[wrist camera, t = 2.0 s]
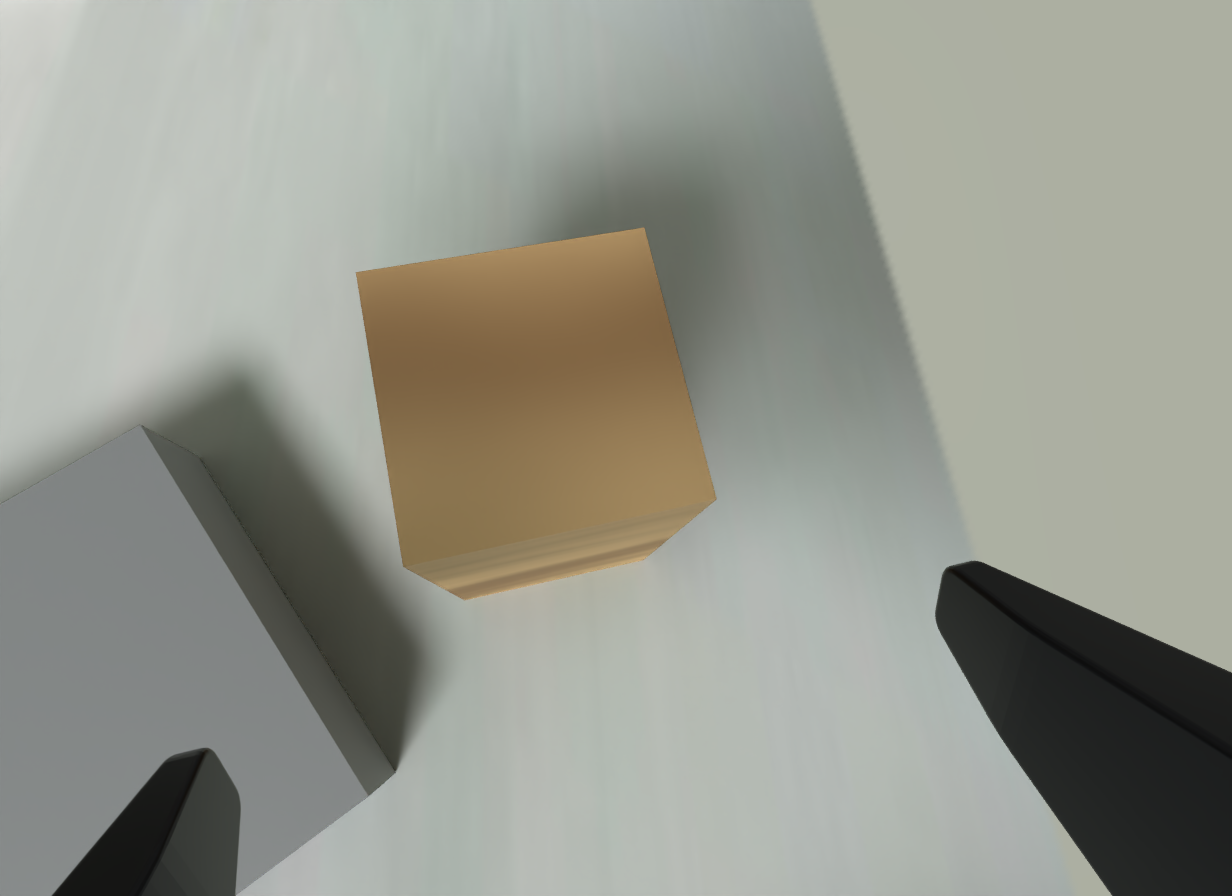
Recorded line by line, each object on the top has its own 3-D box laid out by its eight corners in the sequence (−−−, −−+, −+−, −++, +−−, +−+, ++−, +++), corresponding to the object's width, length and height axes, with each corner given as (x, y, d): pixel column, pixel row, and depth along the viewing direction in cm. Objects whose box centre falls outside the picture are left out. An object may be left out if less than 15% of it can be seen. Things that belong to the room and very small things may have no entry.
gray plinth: (395, 772, 18) (368, 796, 16) (0, 1065, 16) (-117, 1157, 13) (198, 456, 20) (139, 424, 17) (-188, 683, 18) (-330, 692, 15)
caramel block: (643, 559, 20) (716, 499, 12) (464, 600, 20) (402, 566, 11) (603, 393, 22) (644, 227, 13) (433, 426, 21) (355, 272, 12)
